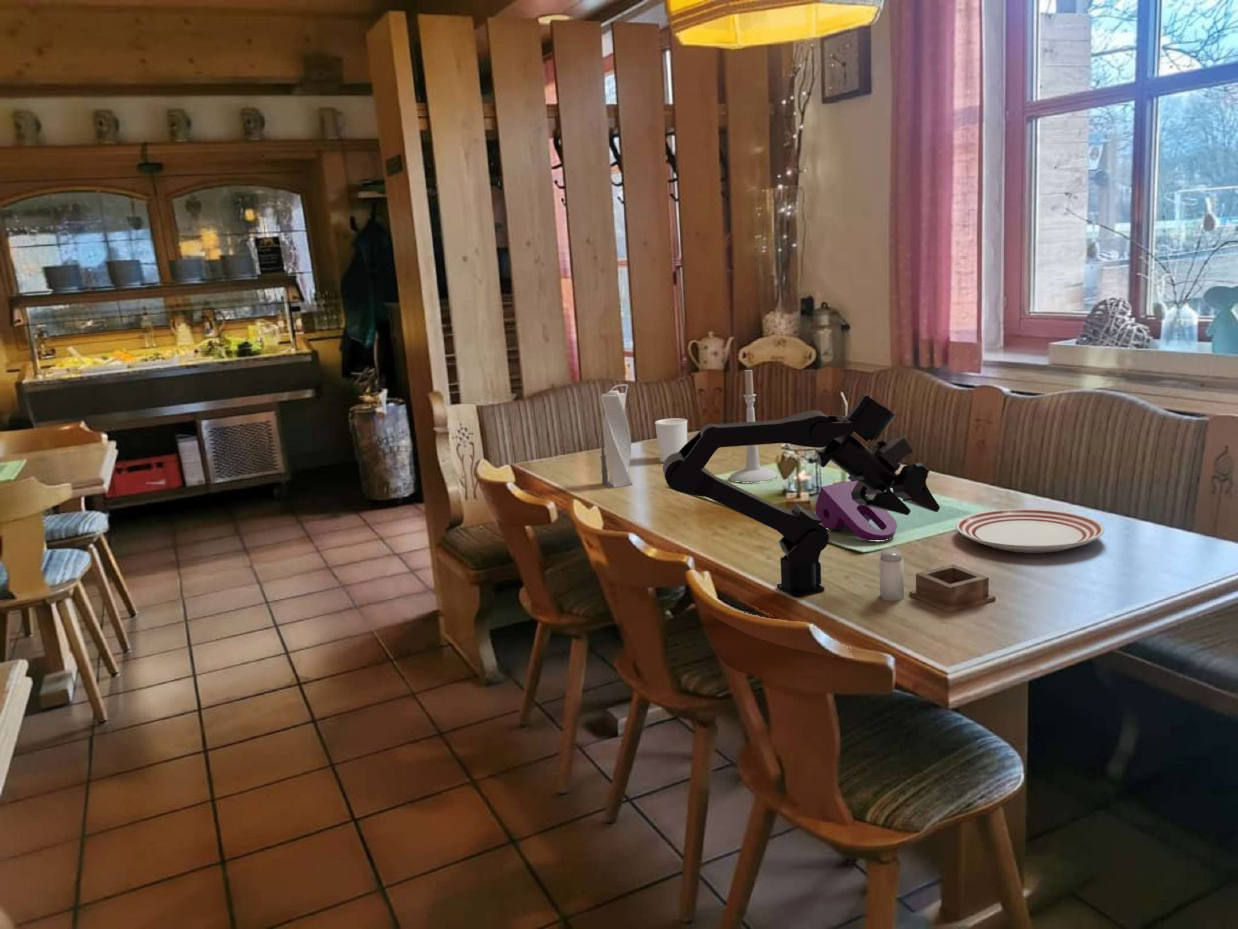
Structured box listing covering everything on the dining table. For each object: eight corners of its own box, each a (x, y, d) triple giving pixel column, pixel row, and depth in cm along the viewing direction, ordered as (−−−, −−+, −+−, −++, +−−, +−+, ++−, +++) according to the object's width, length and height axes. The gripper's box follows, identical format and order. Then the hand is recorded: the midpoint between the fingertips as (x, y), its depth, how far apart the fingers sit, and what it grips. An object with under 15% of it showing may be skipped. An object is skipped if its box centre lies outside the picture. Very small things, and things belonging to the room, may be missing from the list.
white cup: (690, 462, 281) (688, 422, 278) (657, 464, 281) (655, 425, 279) (688, 455, 291) (686, 417, 288) (657, 457, 291) (654, 419, 288)
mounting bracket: (894, 560, 202) (846, 509, 214) (905, 530, 197) (856, 479, 209) (858, 569, 198) (812, 516, 211) (869, 538, 193) (821, 486, 206)
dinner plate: (927, 536, 198) (927, 521, 197) (1025, 513, 208) (1025, 498, 207) (1030, 572, 173) (1030, 554, 172) (1136, 544, 183) (1137, 527, 182)
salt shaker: (890, 602, 163) (889, 558, 162) (875, 595, 167) (874, 552, 165) (908, 597, 165) (908, 554, 163) (893, 591, 168) (893, 548, 167)
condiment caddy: (949, 612, 157) (949, 590, 156) (909, 594, 166) (909, 573, 165) (995, 600, 161) (995, 578, 160) (953, 583, 170) (953, 562, 169)
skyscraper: (629, 480, 266) (622, 382, 260) (639, 486, 259) (631, 385, 253) (601, 484, 264) (593, 385, 258) (610, 490, 256) (602, 388, 250)
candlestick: (787, 476, 255) (782, 366, 248) (751, 486, 248) (746, 373, 242) (755, 470, 265) (750, 364, 259) (720, 478, 259) (714, 370, 252)
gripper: (908, 416, 161) (975, 470, 163) (853, 432, 179) (915, 480, 181) (877, 469, 158) (946, 522, 160) (824, 479, 176) (887, 527, 178)
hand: (923, 511), depth 170 cm, fingers open, 9 cm apart
